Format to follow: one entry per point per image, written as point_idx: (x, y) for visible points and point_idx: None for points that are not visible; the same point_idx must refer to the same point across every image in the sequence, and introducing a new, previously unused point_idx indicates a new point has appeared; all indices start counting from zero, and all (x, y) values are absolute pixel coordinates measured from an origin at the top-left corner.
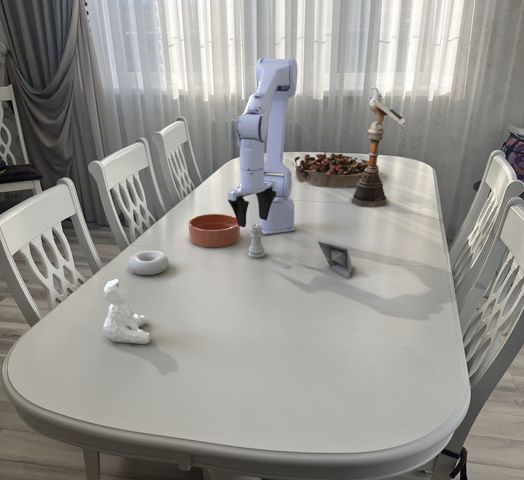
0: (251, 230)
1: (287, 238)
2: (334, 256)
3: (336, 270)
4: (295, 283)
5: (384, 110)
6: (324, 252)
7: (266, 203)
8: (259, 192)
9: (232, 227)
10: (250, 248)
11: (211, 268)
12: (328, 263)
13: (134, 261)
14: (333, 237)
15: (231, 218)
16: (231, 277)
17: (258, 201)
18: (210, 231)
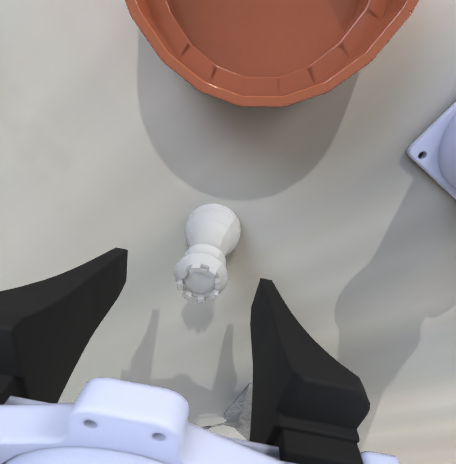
0: (176, 268)
1: (398, 236)
2: (236, 425)
3: (240, 395)
4: (137, 361)
5: None
6: (245, 407)
7: (256, 384)
8: (278, 403)
9: (246, 103)
10: (192, 226)
11: (47, 166)
12: (248, 389)
13: None
14: (452, 335)
15: None
16: (54, 247)
17: (275, 332)
18: (138, 24)
